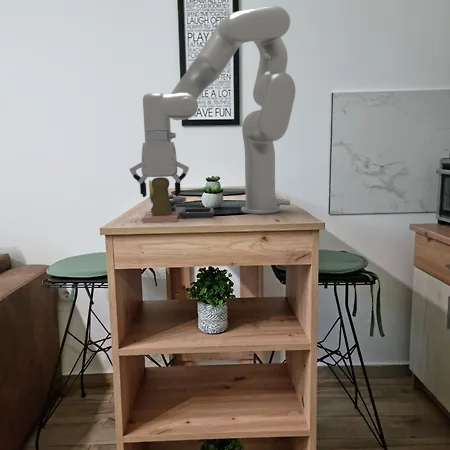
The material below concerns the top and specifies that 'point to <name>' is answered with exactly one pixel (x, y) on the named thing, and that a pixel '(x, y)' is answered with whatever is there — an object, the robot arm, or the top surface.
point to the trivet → (160, 217)
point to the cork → (161, 197)
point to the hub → (176, 208)
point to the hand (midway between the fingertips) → (160, 196)
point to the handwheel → (172, 198)
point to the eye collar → (197, 213)
